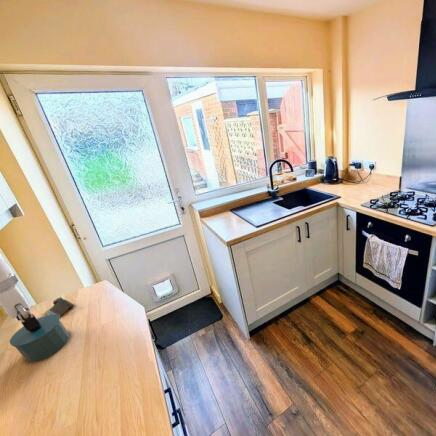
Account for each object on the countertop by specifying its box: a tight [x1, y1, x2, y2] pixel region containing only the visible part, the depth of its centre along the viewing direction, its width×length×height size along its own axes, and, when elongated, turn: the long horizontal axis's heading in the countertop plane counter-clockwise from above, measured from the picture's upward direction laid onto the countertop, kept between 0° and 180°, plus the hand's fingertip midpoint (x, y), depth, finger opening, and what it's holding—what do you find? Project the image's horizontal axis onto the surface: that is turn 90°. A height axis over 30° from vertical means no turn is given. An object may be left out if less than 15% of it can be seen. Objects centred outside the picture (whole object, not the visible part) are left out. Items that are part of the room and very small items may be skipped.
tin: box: [15, 320, 70, 363], centre depth 90 cm, size 12×12×8 cm
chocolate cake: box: [45, 296, 75, 318], centre depth 107 cm, size 10×7×12 cm
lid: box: [9, 313, 61, 348], centre depth 87 cm, size 13×13×7 cm
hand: (29, 322), depth 86 cm, fingers open, 9 cm apart
